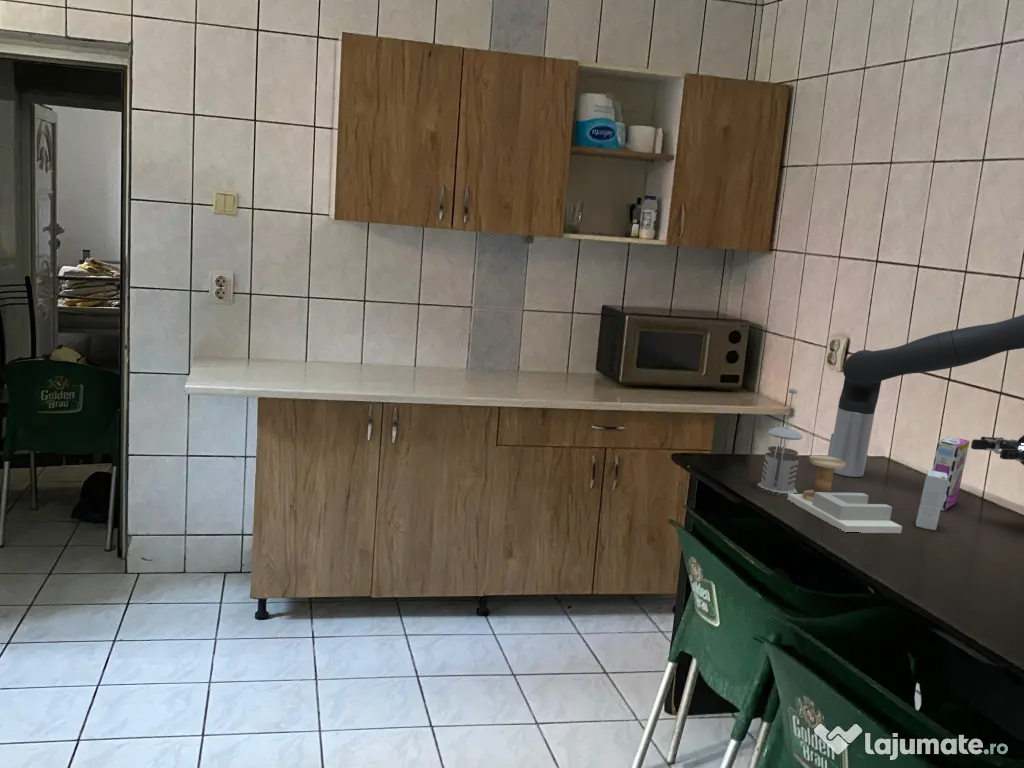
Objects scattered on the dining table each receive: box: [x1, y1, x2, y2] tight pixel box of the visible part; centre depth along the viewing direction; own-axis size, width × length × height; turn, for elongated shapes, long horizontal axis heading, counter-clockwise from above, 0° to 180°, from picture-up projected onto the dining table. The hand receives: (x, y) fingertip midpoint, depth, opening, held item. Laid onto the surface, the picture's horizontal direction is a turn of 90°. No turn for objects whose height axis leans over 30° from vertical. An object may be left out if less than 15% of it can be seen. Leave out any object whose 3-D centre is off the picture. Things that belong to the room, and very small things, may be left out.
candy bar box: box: [931, 436, 970, 512], centre depth 224 cm, size 11×5×16 cm, turn 141°
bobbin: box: [802, 454, 846, 502], centre depth 212 cm, size 8×8×10 cm
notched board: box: [787, 491, 903, 534], centre depth 206 cm, size 22×14×4 cm, turn 16°
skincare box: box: [915, 469, 948, 531], centre depth 205 cm, size 6×4×12 cm
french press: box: [757, 387, 804, 494], centre depth 221 cm, size 10×12×25 cm
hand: (986, 449), depth 206 cm, fingers open, 8 cm apart
